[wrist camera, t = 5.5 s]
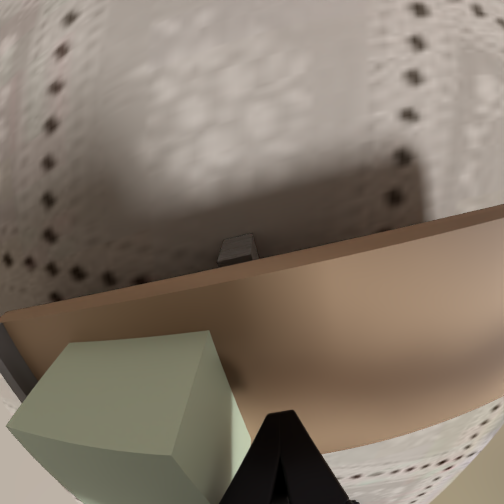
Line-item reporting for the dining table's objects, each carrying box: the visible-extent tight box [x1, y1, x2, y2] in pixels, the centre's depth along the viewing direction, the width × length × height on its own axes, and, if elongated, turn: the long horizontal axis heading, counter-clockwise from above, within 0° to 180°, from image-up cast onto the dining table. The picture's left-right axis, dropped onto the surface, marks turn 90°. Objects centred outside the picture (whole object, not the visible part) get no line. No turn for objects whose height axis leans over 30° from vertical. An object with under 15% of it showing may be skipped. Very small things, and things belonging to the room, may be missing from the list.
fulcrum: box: [217, 233, 259, 268], centre depth 11 cm, size 8×1×2 cm, turn 15°
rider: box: [6, 330, 251, 504], centre depth 8 cm, size 5×5×4 cm
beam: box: [0, 204, 504, 454], centre depth 9 cm, size 8×20×2 cm, turn 105°
